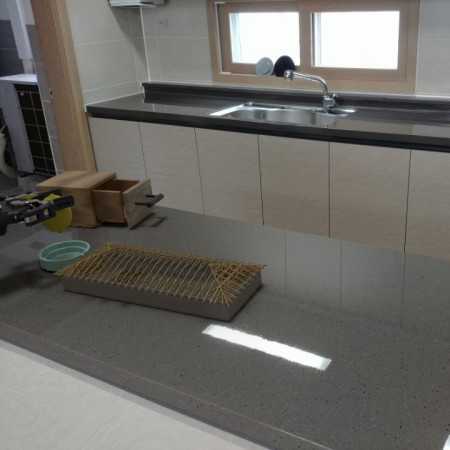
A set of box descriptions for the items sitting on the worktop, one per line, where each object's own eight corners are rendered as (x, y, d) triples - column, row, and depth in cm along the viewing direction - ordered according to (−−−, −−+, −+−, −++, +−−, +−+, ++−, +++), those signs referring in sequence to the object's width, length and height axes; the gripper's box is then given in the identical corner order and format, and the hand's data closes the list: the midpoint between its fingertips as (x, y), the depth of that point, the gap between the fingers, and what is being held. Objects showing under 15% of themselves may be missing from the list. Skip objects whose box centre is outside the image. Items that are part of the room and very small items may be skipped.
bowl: (30, 270, 104) (27, 259, 103) (61, 249, 112) (59, 238, 111) (73, 274, 101) (70, 262, 100) (101, 253, 110) (99, 242, 109)
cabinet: (122, 209, 132) (116, 172, 129) (95, 228, 122) (87, 188, 118) (74, 206, 136) (67, 170, 132) (44, 224, 125) (35, 185, 122)
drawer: (170, 210, 128) (166, 179, 125) (149, 227, 119) (144, 194, 116) (109, 206, 132) (103, 176, 129) (83, 222, 123) (77, 190, 120)
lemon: (81, 230, 105) (73, 192, 102) (57, 241, 101) (48, 201, 98) (63, 225, 108) (54, 187, 105) (38, 235, 104) (29, 196, 100)
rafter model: (56, 291, 96) (49, 260, 93) (109, 256, 108) (104, 228, 106) (230, 325, 84) (227, 291, 81) (268, 281, 96) (266, 251, 94)
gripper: (-22, 212, 86) (80, 185, 97) (-49, 192, 95) (47, 170, 107) (-10, 254, 89) (87, 223, 100) (-38, 231, 98) (55, 205, 110)
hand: (66, 196), depth 103 cm, fingers closed on lemon, 5 cm apart
